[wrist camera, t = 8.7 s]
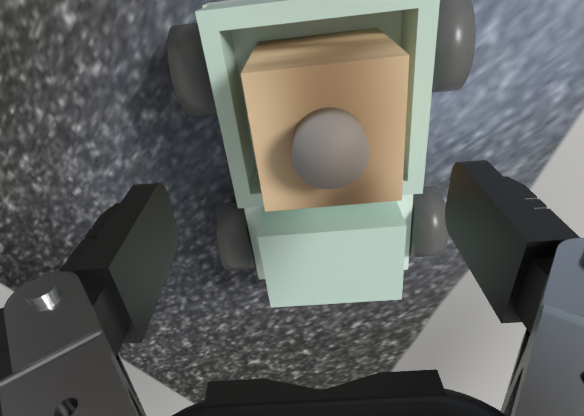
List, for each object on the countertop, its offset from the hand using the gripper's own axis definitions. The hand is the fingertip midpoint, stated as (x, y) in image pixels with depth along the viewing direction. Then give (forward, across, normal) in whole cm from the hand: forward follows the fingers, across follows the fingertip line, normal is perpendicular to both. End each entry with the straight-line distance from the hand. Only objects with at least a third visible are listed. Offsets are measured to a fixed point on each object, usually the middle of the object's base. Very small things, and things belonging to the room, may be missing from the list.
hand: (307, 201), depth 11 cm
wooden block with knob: (+8, -1, -1) cm, 8 cm away
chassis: (+11, -1, +3) cm, 12 cm away
